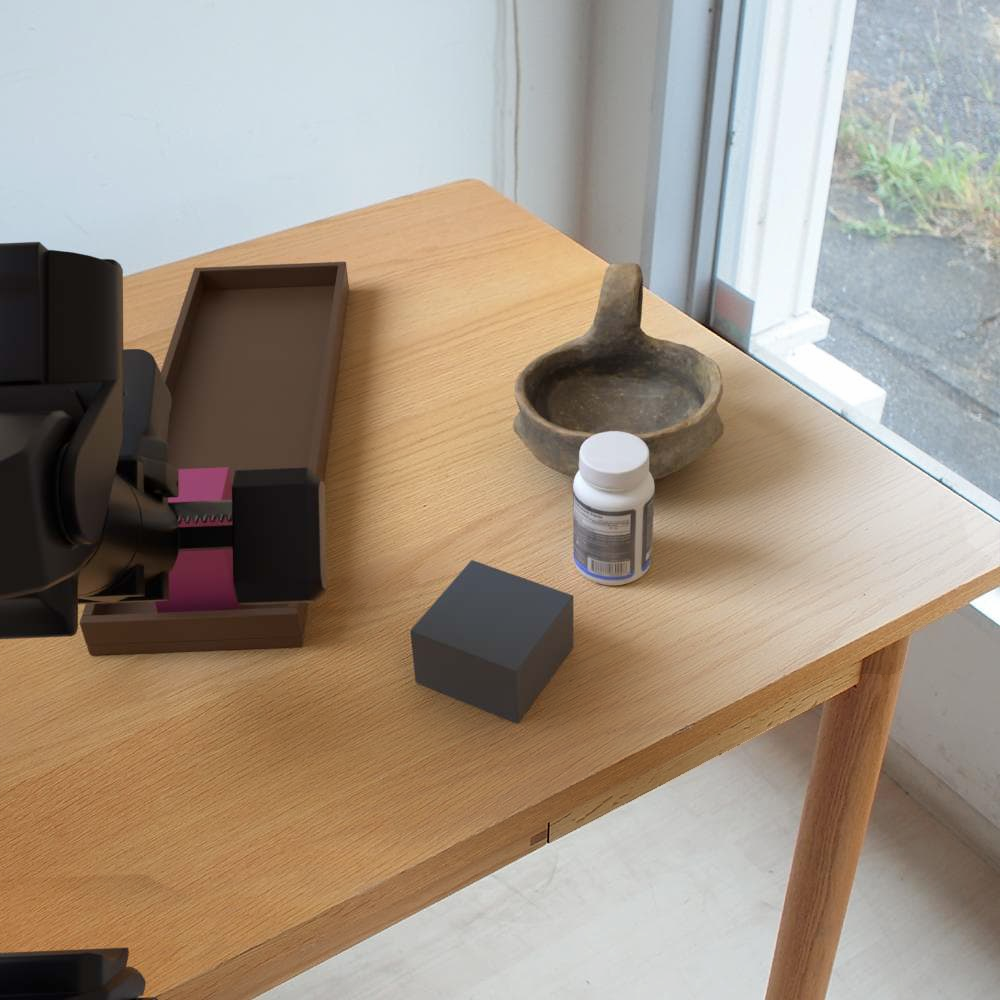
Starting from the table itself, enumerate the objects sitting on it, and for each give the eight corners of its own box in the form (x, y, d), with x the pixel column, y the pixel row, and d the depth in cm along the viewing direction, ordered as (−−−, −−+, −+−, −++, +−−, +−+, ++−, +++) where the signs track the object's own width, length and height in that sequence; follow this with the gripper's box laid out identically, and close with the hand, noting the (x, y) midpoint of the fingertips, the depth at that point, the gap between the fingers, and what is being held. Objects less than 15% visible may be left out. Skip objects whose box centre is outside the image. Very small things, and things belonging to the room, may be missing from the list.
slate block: (518, 724, 70) (516, 671, 68) (415, 682, 73) (409, 630, 70) (573, 647, 75) (573, 595, 72) (474, 611, 77) (471, 559, 75)
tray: (302, 647, 75) (297, 613, 74) (89, 655, 75) (78, 622, 74) (349, 289, 108) (345, 261, 106) (199, 295, 108) (194, 267, 106)
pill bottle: (613, 526, 83) (616, 416, 78) (667, 563, 80) (674, 451, 75) (556, 559, 81) (555, 448, 75) (610, 599, 78) (612, 486, 72)
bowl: (501, 515, 84) (496, 384, 78) (533, 367, 98) (531, 245, 91) (720, 528, 82) (732, 395, 76) (721, 375, 96) (731, 252, 90)
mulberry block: (238, 618, 76) (217, 517, 72) (159, 621, 76) (132, 521, 72) (248, 565, 80) (229, 466, 75) (172, 569, 80) (148, 470, 75)
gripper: (294, 326, 55) (341, 400, 71) (-150, 344, 55) (-6, 414, 71) (300, 592, 54) (346, 608, 70) (-156, 610, 54) (-8, 622, 70)
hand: (168, 557), depth 70 cm, fingers open, 9 cm apart
